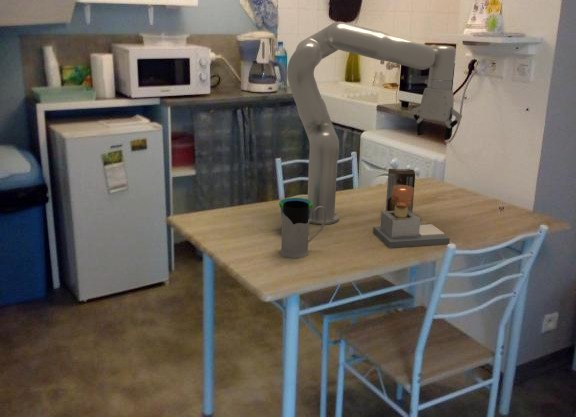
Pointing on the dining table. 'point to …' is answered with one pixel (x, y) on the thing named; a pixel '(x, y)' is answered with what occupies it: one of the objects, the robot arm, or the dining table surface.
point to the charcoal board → (410, 239)
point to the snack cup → (295, 200)
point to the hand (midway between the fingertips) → (433, 137)
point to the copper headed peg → (402, 199)
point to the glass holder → (296, 229)
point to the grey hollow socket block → (400, 225)
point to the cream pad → (429, 231)
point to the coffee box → (399, 179)
